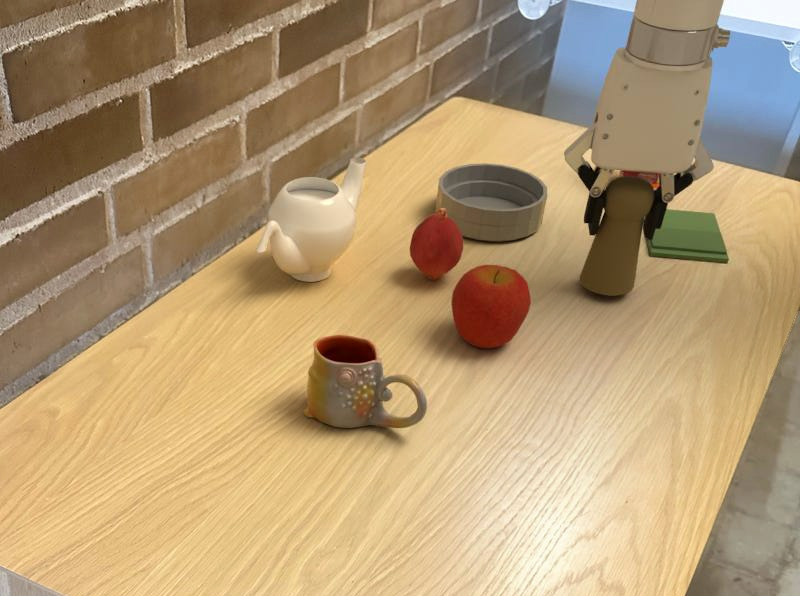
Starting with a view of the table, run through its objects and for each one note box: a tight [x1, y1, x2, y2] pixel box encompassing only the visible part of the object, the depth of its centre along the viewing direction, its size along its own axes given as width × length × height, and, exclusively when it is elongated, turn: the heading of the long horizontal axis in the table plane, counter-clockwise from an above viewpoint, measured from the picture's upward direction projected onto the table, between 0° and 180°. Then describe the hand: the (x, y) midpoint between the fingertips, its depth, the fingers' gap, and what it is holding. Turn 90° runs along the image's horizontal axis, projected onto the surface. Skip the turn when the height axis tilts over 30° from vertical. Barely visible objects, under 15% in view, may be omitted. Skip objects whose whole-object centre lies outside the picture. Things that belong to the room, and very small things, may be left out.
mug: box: [303, 334, 428, 429], centre depth 88 cm, size 12×7×7 cm, turn 55°
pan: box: [434, 162, 548, 243], centre depth 118 cm, size 13×13×4 cm
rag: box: [643, 208, 730, 264], centre depth 118 cm, size 9×12×1 cm
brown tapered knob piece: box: [579, 176, 655, 297], centre depth 104 cm, size 6×6×11 cm
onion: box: [409, 208, 464, 281], centre depth 106 cm, size 6×6×8 cm
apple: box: [450, 264, 531, 349], centre depth 98 cm, size 8×8×8 cm
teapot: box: [255, 157, 367, 283], centre depth 106 cm, size 10×20×9 cm, turn 146°
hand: (619, 230), depth 103 cm, fingers closed on brown tapered knob piece, 5 cm apart
